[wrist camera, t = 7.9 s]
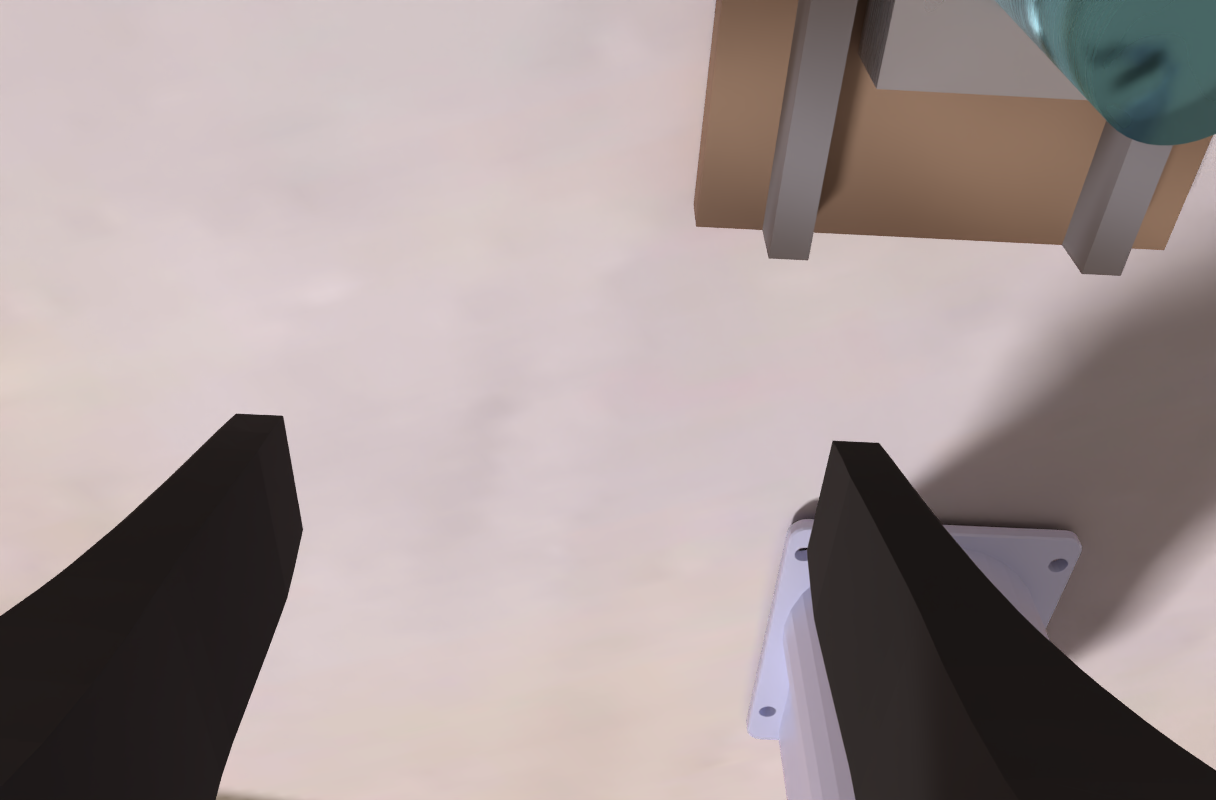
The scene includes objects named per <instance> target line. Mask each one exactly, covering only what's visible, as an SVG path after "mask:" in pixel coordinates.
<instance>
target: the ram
mask: <svg viewBox="0 0 1216 800" xmlns="http://www.w3.org/2000/svg"><path fill="white" fill-rule="evenodd" d="M858 55H859V56H860V58H861V60H862V62H863V64H864V66H865V68H866V70H867V72H868V74H869V76H870V78H871V80H872V81H873V83H874V85H875V87H876V89H886V90H904V91H923V92H942V93H960V94H979V95H998V96H1017V97H1035V98H1054V99H1073V100H1088V101H1089V102H1090V103H1091V104H1092V106H1093V107H1094V108H1095V109H1096V110H1097V111H1098V112H1099V113H1100V114H1101V115H1102V116H1103V117H1104V118H1105V120H1106V121H1107V122H1108V123H1109V124H1110V125H1111V126H1112V127H1114V128H1115V129H1116V130H1117V131H1118V132H1120V133H1121V134H1123V135H1124V136H1126V137H1128V138H1130V139H1133V140H1135V141H1138V142H1142V143H1145V144H1151V145H1179V144H1186V143H1190V142H1194V141H1198V140H1201V139H1204V138H1207V137H1209V136H1212V135H1214V134H1216V0H868V3H867V8H866V14H865V19H864V24H863V29H862V34H861V39H860V44H859V49H858Z"/></svg>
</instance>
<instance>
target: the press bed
mask: <svg viewBox="0 0 1216 800" xmlns="http://www.w3.org/2000/svg"><path fill="white" fill-rule="evenodd" d="M867 3H868V0H716V8H715V17H714V26H713V35H712V44H711V53H710V62H709V71H708V80H707V89H706V98H705V107H704V116H703V125H702V134H701V143H700V153H699V162H698V171H697V180H696V189H695V198H694V211H695V220H696V227H715V228H735V229H755V230H763V235H764V239H765V244H766V248H767V253H768V257H769V258H773V259H793V260H808V258H809V253H810V248H811V243H812V237H813V232H815V233H835V234H855V235H875V236H895V237H915V238H935V239H955V240H974V241H994V242H1014V243H1034V244H1054V245H1062V246H1063V247H1064V248H1065V250H1066V251H1067V253H1068V254H1069V256H1070V257H1071V259H1072V260H1073V262H1074V263H1075V265H1076V266H1077V268H1078V269H1079V270H1080V272H1081V273H1082V274H1096V275H1116V276H1121V273H1122V271H1123V268H1124V266H1125V263H1126V261H1127V259H1128V256H1129V254H1130V251H1131V249H1132V248H1134V249H1154V250H1164V249H1165V247H1166V244H1167V242H1168V240H1169V237H1170V235H1171V233H1172V230H1173V228H1174V226H1175V223H1176V221H1177V218H1178V216H1179V214H1180V211H1181V209H1182V207H1183V204H1184V202H1185V200H1186V197H1187V195H1188V193H1189V190H1190V188H1191V185H1192V183H1193V181H1194V178H1195V176H1196V174H1197V171H1198V169H1199V167H1200V164H1201V162H1202V159H1203V157H1204V155H1205V152H1206V150H1207V148H1208V145H1209V143H1210V141H1211V138H1212V136H1213V135H1212V136H1209V137H1207V138H1204V139H1201V140H1198V141H1194V142H1190V143H1186V144H1179V145H1151V144H1145V143H1142V142H1138V141H1135V140H1133V139H1130V138H1128V137H1126V136H1124V135H1123V134H1121V133H1120V132H1118V131H1117V130H1116V129H1115V128H1114V127H1112V126H1111V125H1110V124H1109V123H1108V122H1107V121H1106V120H1105V118H1104V117H1103V116H1102V115H1101V114H1100V113H1099V112H1098V111H1097V110H1096V109H1095V108H1094V107H1093V106H1092V104H1091V103H1090V102H1089V101H1088V100H1073V99H1054V98H1035V97H1017V96H998V95H979V94H960V93H942V92H923V91H904V90H886V89H876V87H875V85H874V83H873V81H872V80H871V78H870V76H869V74H868V72H867V70H866V68H865V66H864V64H863V62H862V60H861V58H860V56H859V55H858V49H859V44H860V39H861V34H862V29H863V24H864V19H865V14H866V8H867Z"/></svg>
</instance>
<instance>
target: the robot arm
mask: <svg viewBox="0 0 1216 800" xmlns="http://www.w3.org/2000/svg"><path fill="white" fill-rule="evenodd" d="M302 531H303V527H302V521H301V516H300V510H299V504H298V499H297V493H296V487H295V481H294V476H293V470H292V464H291V459H290V453H289V447H288V442H287V436H286V430H285V424H284V419H283V416H275V415H253V414H235V415H234V416H233V417H232V418H231V419H230V420H229V421H227V422H226V423H225V424H224V425H223V426H222V427H221V428H220V429H219V430H218V431H217V432H216V433H215V434H214V435H213V436H212V437H211V438H210V439H209V440H208V441H207V442H205V443H204V444H203V445H202V446H201V447H200V448H199V449H198V450H197V451H196V452H195V453H194V454H193V455H192V456H191V457H190V458H189V459H188V460H187V461H186V462H185V463H184V464H183V465H182V466H181V467H180V468H179V469H178V470H177V471H176V472H175V473H174V474H172V475H171V476H170V477H169V478H168V479H167V480H166V481H165V482H164V483H163V484H162V485H161V486H160V487H159V488H158V489H157V490H155V491H154V492H153V493H152V494H151V495H150V496H149V497H148V498H147V499H146V500H145V501H144V502H142V503H141V504H140V505H139V506H138V507H137V508H136V509H135V510H134V511H133V512H132V513H131V514H129V515H128V516H127V517H126V518H125V519H124V520H123V521H122V522H121V523H119V524H118V525H117V526H116V527H115V528H114V529H113V530H111V531H110V532H109V533H108V534H107V535H105V536H104V537H103V538H102V539H101V540H99V541H98V542H97V543H96V544H95V545H93V546H92V547H91V548H90V549H89V550H87V551H86V552H85V553H84V554H83V555H81V556H80V557H79V558H78V559H77V560H75V561H74V562H73V563H72V564H71V565H69V566H68V567H67V568H66V569H64V570H63V571H62V572H61V573H59V574H58V575H57V576H55V577H54V578H53V579H51V580H50V581H49V582H47V583H46V584H45V585H43V586H42V587H41V588H39V589H38V590H37V591H35V592H34V593H32V594H31V595H30V596H28V597H27V598H25V599H24V600H23V601H21V602H20V603H18V604H17V605H15V606H14V607H13V608H11V609H10V610H8V611H7V612H5V613H4V614H3V615H1V616H0V800H216V796H217V792H218V788H219V784H220V781H221V777H222V774H223V771H224V768H225V765H226V762H227V759H228V756H229V753H230V750H231V747H232V744H233V741H234V738H235V736H236V733H237V731H238V728H239V725H240V723H241V720H242V717H243V715H244V712H245V709H246V707H247V704H248V701H249V699H250V696H251V694H252V691H253V688H254V686H255V683H256V680H257V678H258V675H259V672H260V670H261V667H262V665H263V662H264V659H265V657H266V654H267V651H268V649H269V646H270V643H271V641H272V638H273V635H274V633H275V630H276V627H277V624H278V622H279V619H280V616H281V614H282V611H283V608H284V605H285V602H286V600H287V597H288V592H289V588H290V584H291V580H292V576H293V572H294V568H295V563H296V559H297V554H298V550H299V545H300V540H301V536H302ZM800 548H807V550H803V551H799V549H800ZM1081 551H1082V545H1081V543H1080V541H1079V539H1078V537H1077V535H1076V534H1075V533H1073V532H1072V531H1067V530H1049V529H1026V528H1003V527H980V526H957V525H942V524H941V522H940V521H939V520H938V519H937V517H936V516H935V515H934V514H933V512H932V511H931V510H930V508H929V507H928V506H927V505H926V503H925V502H924V501H923V499H922V498H921V497H920V496H919V494H918V493H917V492H916V490H915V489H914V488H913V487H912V485H911V484H910V483H909V481H908V480H907V479H906V477H905V476H904V475H903V473H902V472H901V471H900V469H899V468H898V467H897V465H896V464H895V463H894V461H893V460H892V459H891V458H890V456H889V455H888V454H887V452H886V451H885V450H884V449H883V447H882V446H881V445H880V444H879V443H869V442H847V441H833V442H832V446H831V450H830V455H829V459H828V463H827V467H826V472H825V476H824V480H823V484H822V489H821V493H820V497H819V501H818V506H817V510H816V514H815V518H814V519H803V520H799V521H797V522H795V523H793V524H792V525H791V526H790V527H789V529H788V531H787V535H786V540H785V544H784V549H783V554H782V558H781V563H780V568H779V572H778V577H777V581H776V586H775V591H774V595H773V600H772V605H771V609H770V614H769V619H768V623H767V628H766V632H765V637H764V642H763V646H762V651H761V656H760V660H759V665H758V670H757V674H756V679H755V683H754V688H753V693H752V697H751V702H750V707H749V711H748V716H747V721H746V722H747V731H748V733H749V735H750V736H752V737H754V738H756V739H767V740H779V745H780V752H781V759H782V766H783V774H784V781H785V788H786V795H787V800H1216V770H1214V769H1213V768H1211V767H1210V766H1208V765H1207V764H1205V763H1204V762H1202V761H1201V760H1199V759H1198V758H1196V757H1195V756H1194V755H1192V754H1191V753H1189V752H1188V751H1186V750H1185V749H1183V748H1182V747H1180V746H1179V745H1178V744H1176V743H1175V742H1173V741H1172V740H1171V739H1169V738H1168V737H1166V736H1165V735H1164V734H1162V733H1161V732H1160V731H1158V730H1157V729H1155V728H1154V727H1153V726H1151V725H1150V724H1149V723H1147V722H1146V721H1145V720H1143V719H1142V718H1141V717H1140V716H1138V715H1137V714H1136V713H1134V712H1133V711H1132V710H1131V709H1129V708H1128V707H1127V706H1126V705H1124V704H1123V703H1122V702H1120V701H1119V700H1118V699H1117V698H1115V697H1114V696H1113V695H1112V694H1110V693H1109V692H1108V691H1107V690H1105V689H1104V688H1103V687H1101V686H1100V685H1099V684H1098V683H1097V682H1096V681H1094V680H1093V679H1092V678H1091V677H1090V676H1088V675H1087V674H1086V673H1085V672H1084V671H1082V670H1081V669H1080V668H1079V667H1078V666H1077V665H1076V664H1074V663H1073V662H1072V661H1071V660H1070V659H1069V658H1068V657H1067V656H1066V655H1065V654H1063V653H1062V652H1061V651H1060V650H1059V649H1058V648H1057V647H1056V646H1055V645H1054V644H1053V643H1051V642H1050V639H1049V637H1048V635H1047V632H1046V628H1047V626H1048V623H1049V621H1050V619H1051V617H1052V615H1053V612H1054V610H1055V608H1056V606H1057V604H1058V602H1059V599H1060V597H1061V595H1062V593H1063V591H1064V589H1065V586H1066V584H1067V582H1068V580H1069V578H1070V576H1071V573H1072V571H1073V569H1074V567H1075V565H1076V563H1077V560H1078V558H1079V556H1080V554H1081ZM1055 559H1058V560H1056V561H1053V560H1055Z"/></svg>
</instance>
